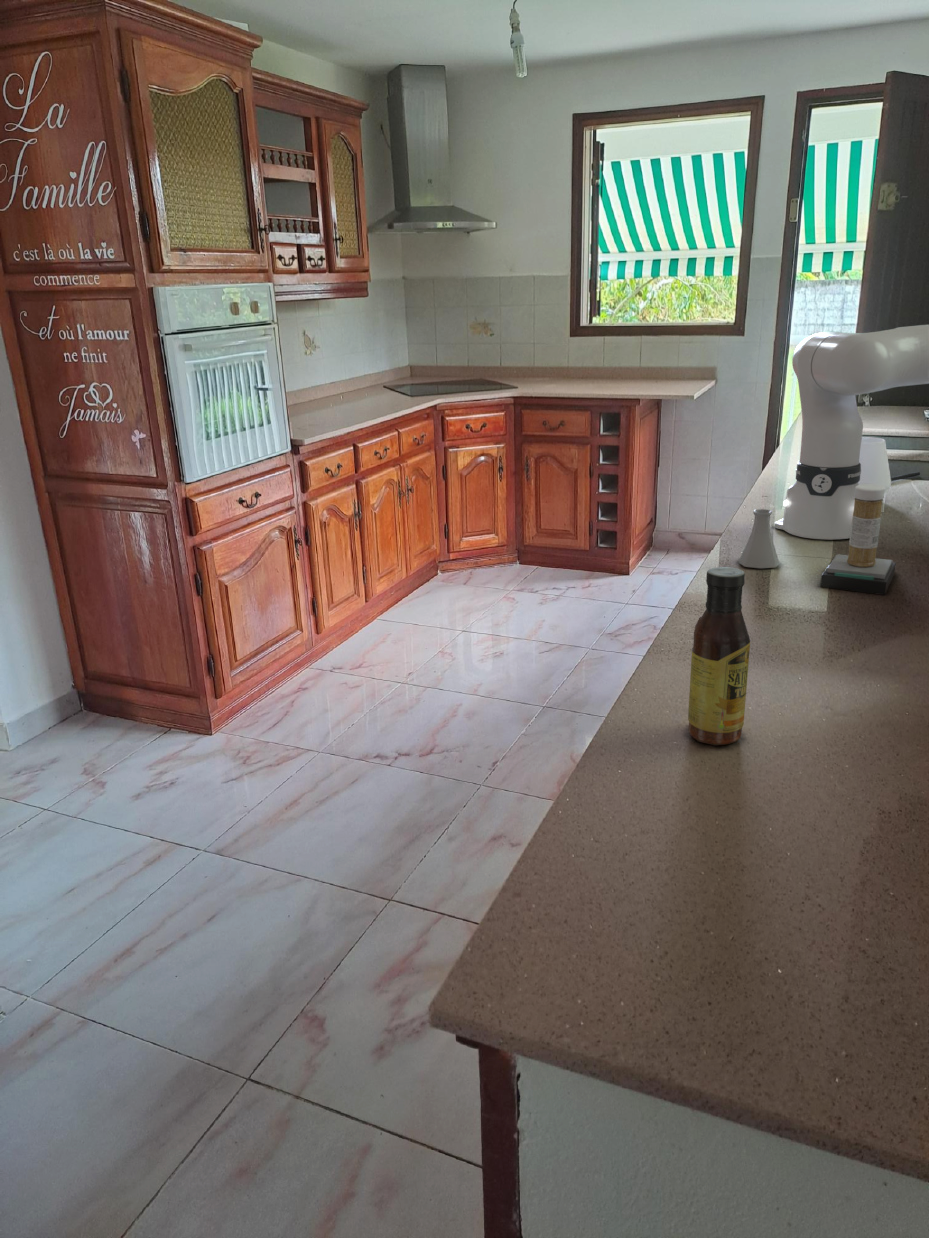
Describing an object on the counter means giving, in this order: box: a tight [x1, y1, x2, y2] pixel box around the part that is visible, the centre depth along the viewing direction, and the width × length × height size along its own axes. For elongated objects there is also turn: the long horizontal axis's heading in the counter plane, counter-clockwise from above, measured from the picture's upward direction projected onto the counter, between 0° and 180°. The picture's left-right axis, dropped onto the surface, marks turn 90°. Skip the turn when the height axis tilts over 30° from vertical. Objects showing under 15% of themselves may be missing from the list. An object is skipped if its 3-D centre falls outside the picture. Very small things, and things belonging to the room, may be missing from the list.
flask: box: [738, 508, 780, 569], centre depth 161 cm, size 7×7×10 cm
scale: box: [820, 553, 897, 596], centre depth 151 cm, size 12×10×3 cm
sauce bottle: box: [687, 566, 751, 746], centre depth 99 cm, size 6×6×20 cm
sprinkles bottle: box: [847, 484, 886, 567], centre depth 148 cm, size 5×5×14 cm
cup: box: [858, 436, 892, 496], centre depth 202 cm, size 13×13×14 cm
